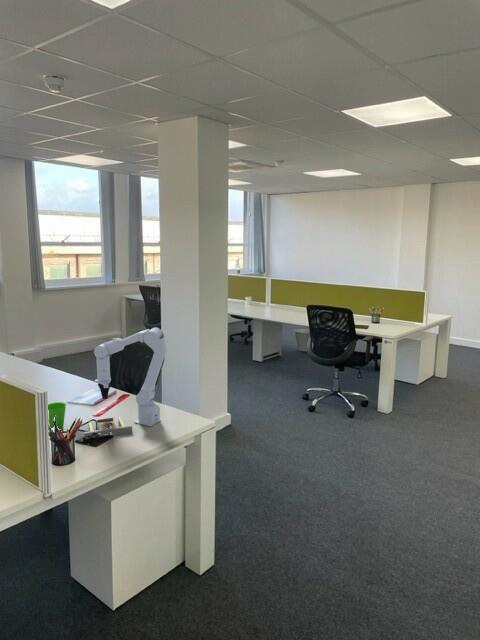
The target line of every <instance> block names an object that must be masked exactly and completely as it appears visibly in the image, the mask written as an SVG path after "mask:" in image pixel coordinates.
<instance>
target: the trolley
mask: <svg viewBox="0 0 480 640" xmlns="http://www.w3.org/2000/svg"><path fill="white" fill-rule="evenodd" d="M109 423H112V424H113V425H112V428H115V427H117V426H116V424H115V422H114V417H108V418H102V419H97V420H96V425H98V427H97V428H98V429H97V430H101V429H106V428H107V427H108V424H109Z"/></svg>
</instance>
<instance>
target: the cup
mask: <svg viewBox="0 0 480 640" xmlns="http://www.w3.org/2000/svg"><path fill="white" fill-rule="evenodd" d="M47 404H48V410H49V420H48V424H49V428H50V429H51V428H53V427H54V424H53V419H54V417H55V415H56V416H57V426H58V428H59V429H62V430H63V429H64V424H65V418H66V417H65V416H66V414H65V413H66V407H67V403H66V402H63V401H55V402H50V403H47Z"/></svg>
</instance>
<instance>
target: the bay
mask: <svg viewBox="0 0 480 640" xmlns="http://www.w3.org/2000/svg"><path fill="white" fill-rule="evenodd" d="M117 420H118V425H119V426H116V427H115V428H111V429H101V430H99V429H95V430H94V426H93V425H92V421H89V422H90V423H88V422H87V423H88V426H89V427H88V430H90V431H83V438H84V437H85V436H88V435H91V434H93V433H101V434H108V433H109V432H112V434H113V435H114V436H120V435H127V434H128V435H129V434H132V433H133V425H132V424H129V425H125V422H124V421H123V419H122V417H118V419H117Z"/></svg>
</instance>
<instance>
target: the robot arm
mask: <svg viewBox="0 0 480 640" xmlns="http://www.w3.org/2000/svg"><path fill="white" fill-rule="evenodd" d="M137 342H140V343H143V344H144V343H145V344H146V345H147V346H148V347H149V348H151V350H152V351H153V354H152V358H151V361H150V365H149V366H148V370H147V372H146V377H145V378H144V382H143V384H142V387H141V389H140V391H139V392H138V394H136V396H135V400H136V404H137V416H138V419H136V420H135V421H134V423H135V424H139V425H143V426H148V427H153V426H154V425H156V424H157V423H159V422H161V421H162V419H161V415H160V414H161V413H160V411H161V410H160V407H159V405H157V404H156V403H155V401H154V397H155V395H156V390H155V389H156V382H157V379H158V377H159V374H160V372H161V368H162V365H163V362H164V359H165V357H166V353H167V345H166V341H165V333H164V332H163V331H162V329H161V328H159V327H152V328H151V329H150V328H148V329H144V330H141V331H139V332H136V333H134V334H131V335H129V336H127V337H125V338H119V337H113V338H112V339H111V340H110V341H105V342H103V343H101V344H99V345H97V346H96V347H95V348H94V350H93V353H94V356H95V357H96V359H95V360H96V373H97V377H96V378H97V379H94V383H97V386H98V388H99V390H100V394H101V398H102V400H105V399H108V397H109V391H110V389H111V387H112V384H111V381H112V378H111V363H110V355H112V354H115V353H118V352H120V351H124V348H125V346H126V347H127V346H128V345H131V344H134V343H137Z"/></svg>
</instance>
